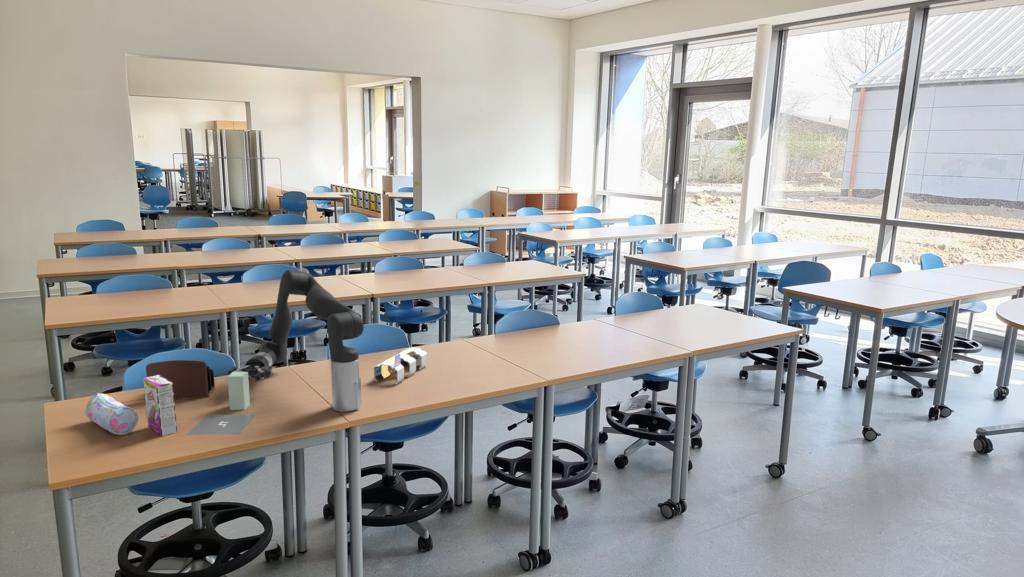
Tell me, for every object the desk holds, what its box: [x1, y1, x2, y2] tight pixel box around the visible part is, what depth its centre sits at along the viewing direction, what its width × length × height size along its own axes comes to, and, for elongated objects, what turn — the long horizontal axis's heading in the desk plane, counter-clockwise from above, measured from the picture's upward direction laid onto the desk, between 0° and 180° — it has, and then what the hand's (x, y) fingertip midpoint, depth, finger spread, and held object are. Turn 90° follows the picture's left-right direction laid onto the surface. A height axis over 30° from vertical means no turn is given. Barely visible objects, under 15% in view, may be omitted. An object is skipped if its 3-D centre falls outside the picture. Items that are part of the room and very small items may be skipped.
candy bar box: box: [142, 375, 178, 437], centre depth 202 cm, size 11×5×16 cm, turn 48°
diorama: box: [373, 346, 428, 385], centre depth 260 cm, size 25×10×13 cm, turn 161°
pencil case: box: [84, 392, 139, 436], centre depth 205 cm, size 21×9×10 cm, turn 50°
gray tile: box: [186, 414, 257, 436], centre depth 209 cm, size 16×16×1 cm
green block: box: [227, 372, 251, 411], centre depth 222 cm, size 5×5×12 cm
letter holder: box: [145, 359, 216, 400], centre depth 234 cm, size 10×20×14 cm, turn 101°
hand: (243, 378), depth 227 cm, fingers open, 8 cm apart
